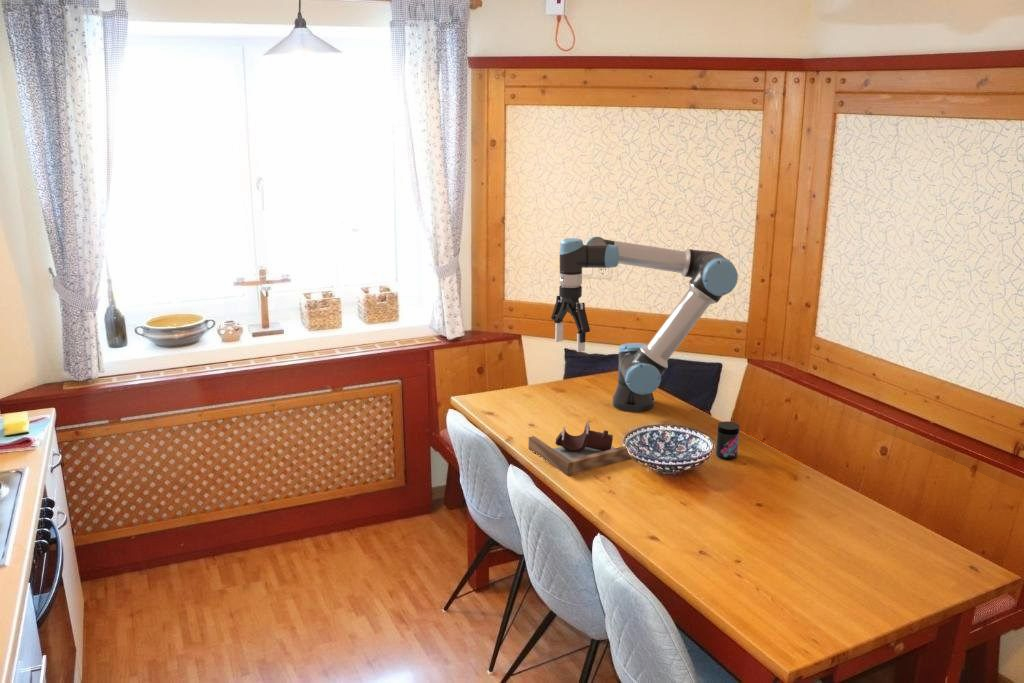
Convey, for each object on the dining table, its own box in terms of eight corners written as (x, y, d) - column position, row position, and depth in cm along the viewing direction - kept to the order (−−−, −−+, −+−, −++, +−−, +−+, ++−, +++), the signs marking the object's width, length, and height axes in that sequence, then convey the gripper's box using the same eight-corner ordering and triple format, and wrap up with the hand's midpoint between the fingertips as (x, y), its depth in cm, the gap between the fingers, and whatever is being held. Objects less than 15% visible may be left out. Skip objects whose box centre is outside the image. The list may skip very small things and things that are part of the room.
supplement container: (714, 459, 269) (716, 428, 266) (716, 450, 275) (718, 420, 272) (737, 461, 267) (739, 430, 264) (737, 453, 273) (740, 422, 270)
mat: (598, 438, 285) (598, 437, 285) (617, 450, 276) (617, 449, 276) (546, 451, 275) (546, 450, 275) (565, 463, 266) (565, 462, 266)
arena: (590, 434, 289) (590, 423, 287) (632, 459, 269) (632, 447, 268) (528, 448, 277) (528, 437, 276) (567, 475, 258) (567, 463, 257)
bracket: (555, 436, 279) (562, 414, 273) (607, 447, 279) (614, 425, 273) (554, 449, 274) (560, 428, 268) (606, 461, 274) (614, 439, 268)
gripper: (541, 279, 297) (541, 338, 303) (582, 294, 276) (580, 357, 282) (560, 277, 300) (559, 335, 306) (601, 291, 279) (599, 353, 285)
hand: (569, 346), depth 294 cm, fingers open, 13 cm apart
